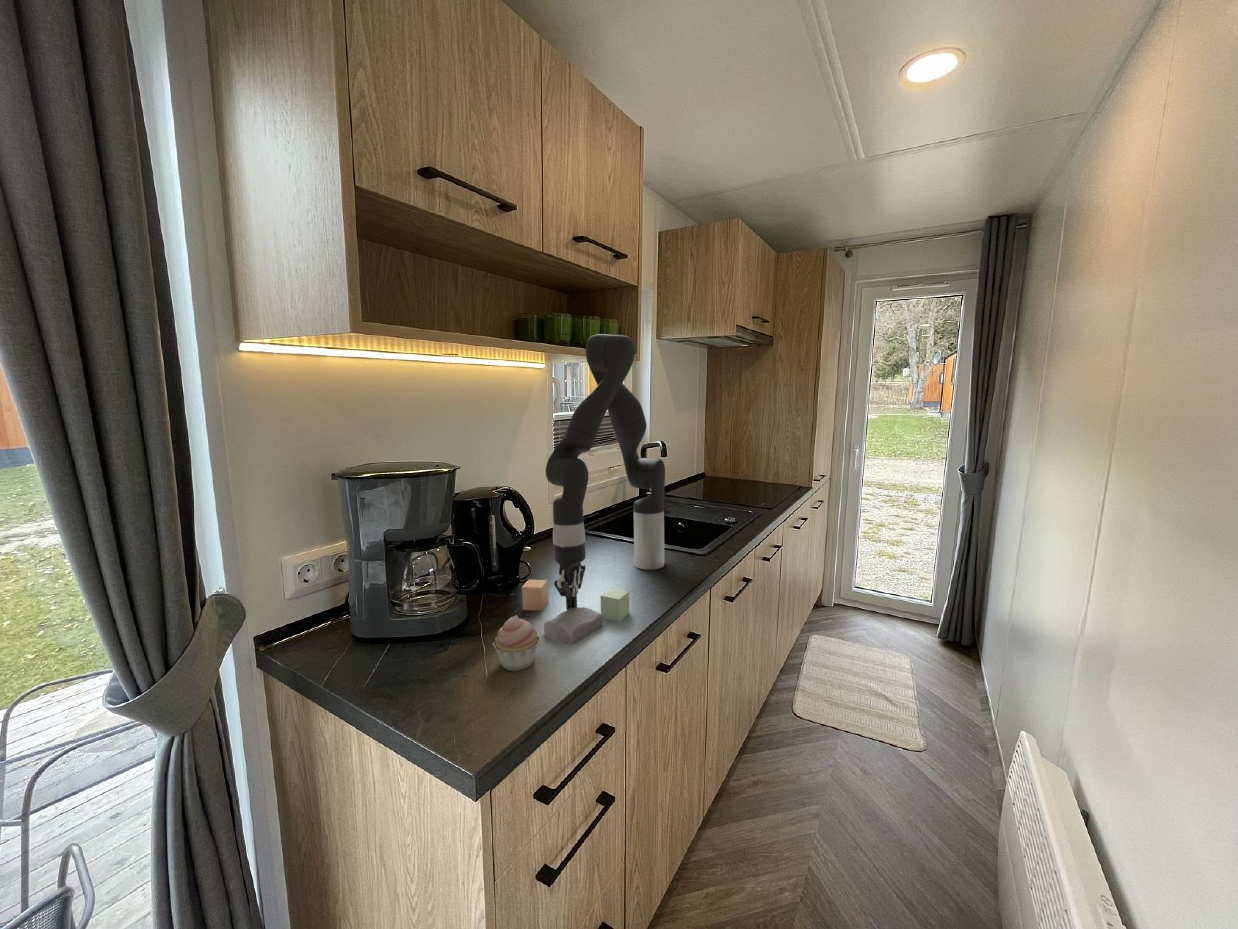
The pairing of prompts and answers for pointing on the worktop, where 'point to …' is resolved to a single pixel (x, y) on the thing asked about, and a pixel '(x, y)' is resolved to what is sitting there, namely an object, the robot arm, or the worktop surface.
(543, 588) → the terracotta block
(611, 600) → the sage block
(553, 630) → the stone block
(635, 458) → the robot arm
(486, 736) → the worktop surface
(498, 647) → the cupcake
